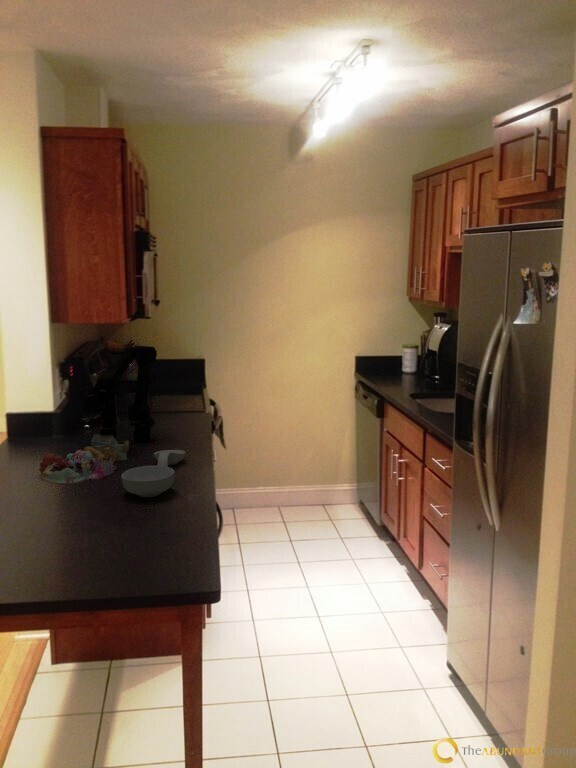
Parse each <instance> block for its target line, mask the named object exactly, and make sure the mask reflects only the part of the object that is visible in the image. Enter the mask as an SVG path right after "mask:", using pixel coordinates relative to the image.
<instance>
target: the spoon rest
mask: <svg viewBox="0 0 576 768" xmlns="http://www.w3.org/2000/svg"><path fill="white" fill-rule="evenodd" d="M153 456H154V457H155V459H156V461H157V463H156V464H157V465H156V466H166V467H169V466H173V465H177V464H178V463H179V462H181V461H182V460H184V458H185V456H186V451H185V450H183V449H182V450H181V449H167V450H159V451H155V452H154V453H153Z"/></svg>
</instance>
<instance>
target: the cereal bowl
mask: <svg viewBox="0 0 576 768" xmlns="http://www.w3.org/2000/svg"><path fill="white" fill-rule="evenodd" d="M175 473H176V472H175V470H174V469H173V468H172V467H170V466H168V467H166V466H157V465H143V466H137V467H133V468H130V469H126V470H125V471H124V472H123V473H122V474H121V483H122V486H123V487H124V489H125V490H126V491H127V493H128V492H129V493H131V494H132V495H135V496H136V495H137V496H138V497H140V498H153V497H157V496H159V495H161V494H162V493H164V492H166V491H168V490H169V489H170V488H171V487H172V486H173V484H174V481H175V479H176V478H175Z"/></svg>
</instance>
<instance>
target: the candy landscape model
mask: <svg viewBox="0 0 576 768" xmlns="http://www.w3.org/2000/svg"><path fill="white" fill-rule="evenodd" d="M90 446H91V445H90ZM90 446H84V448H83V450H82V449H78V450H76V451H75V452H73V453H68V454H67V456H66V458H65V460H64V459H63V457H62V456H61V455H56V456H54V454H53V453H46V454H44V456H43V457H42V461H41V462H40V463H39V466H40V468H39V472H40V474H39V477H40V479H42V480H44V481H45V482H48V483H51V484H57V485H75V484H79V482H80V483H82V482H84V480H85V481H90V480H89V479H92V480H91V481H94V480H101V479H103V478H104V477H105V478H107V477H109V476H111V475H113V474H114V473H115V470H117V468H118V467H117V466H116V465H114V464H115V462H116V461H115V459H116V455H117V452H114V453H110V451H111V448H110V447H106V448H104V454H102V453H101V452H100V451H97V450H96V449H94V448H92V447H90ZM54 463H56V464H54ZM53 464H54V465H53ZM52 465H53V466H52ZM49 466H52V467H51V468H49V469H47V468H48V467H49ZM46 469H47V470H46ZM93 479H94V480H93ZM74 483H75V484H74Z"/></svg>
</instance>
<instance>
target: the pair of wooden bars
mask: <svg viewBox="0 0 576 768" xmlns="http://www.w3.org/2000/svg"><path fill="white" fill-rule="evenodd" d="M90 447H92V448H94V449H96V450H97V451H100V452H101V453H102V454H104V448H106V447H110V448H111V451H110V453H114V452H117V455H116V459H115V462H120V461H127V460H128V457H127V456H128V455H127V453H129V450H130V449H129V448H130V442H129V440H124V444H118V445H103V446H92V445H90Z"/></svg>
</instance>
